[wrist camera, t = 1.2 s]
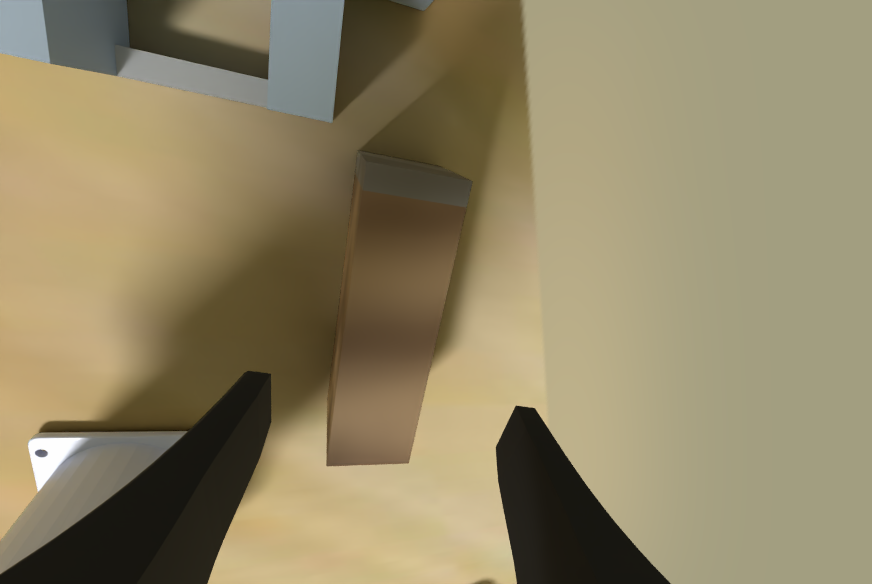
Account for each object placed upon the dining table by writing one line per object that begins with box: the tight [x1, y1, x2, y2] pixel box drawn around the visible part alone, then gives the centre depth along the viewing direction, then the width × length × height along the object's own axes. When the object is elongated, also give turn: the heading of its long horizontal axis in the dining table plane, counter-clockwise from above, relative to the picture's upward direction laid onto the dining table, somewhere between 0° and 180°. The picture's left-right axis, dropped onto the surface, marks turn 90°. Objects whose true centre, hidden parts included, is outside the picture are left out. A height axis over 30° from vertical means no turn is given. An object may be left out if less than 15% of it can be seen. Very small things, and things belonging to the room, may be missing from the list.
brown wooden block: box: [327, 150, 473, 466], centre depth 19 cm, size 14×4×5 cm, turn 168°
